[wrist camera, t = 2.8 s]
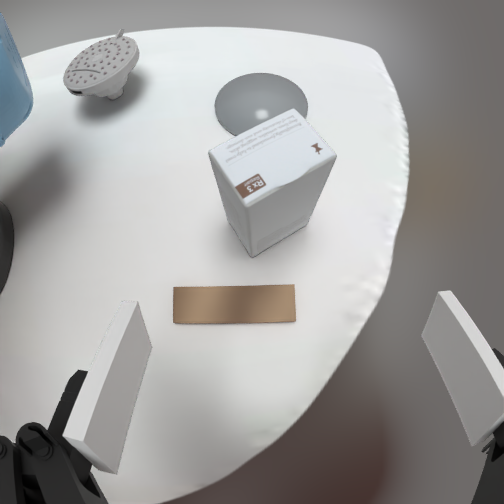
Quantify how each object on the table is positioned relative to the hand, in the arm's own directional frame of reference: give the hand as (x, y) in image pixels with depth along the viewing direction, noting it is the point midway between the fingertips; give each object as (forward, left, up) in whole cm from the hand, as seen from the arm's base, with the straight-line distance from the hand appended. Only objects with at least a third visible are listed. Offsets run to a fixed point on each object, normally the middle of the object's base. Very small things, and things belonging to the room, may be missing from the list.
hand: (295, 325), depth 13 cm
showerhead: (-19, +28, -13) cm, 36 cm away
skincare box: (0, +9, -13) cm, 16 cm away
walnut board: (-4, +2, -13) cm, 14 cm away
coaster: (-1, +23, -13) cm, 27 cm away
